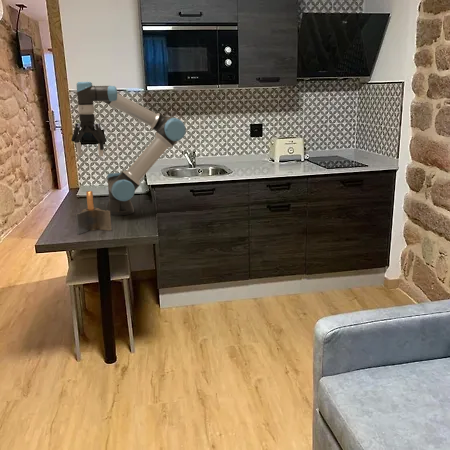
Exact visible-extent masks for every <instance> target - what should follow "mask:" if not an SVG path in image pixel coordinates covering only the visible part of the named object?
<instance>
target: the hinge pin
mask: <svg viewBox="0 0 450 450" xmlns="http://www.w3.org/2000/svg"><path fill="white" fill-rule="evenodd" d="M85 193H86V194H85V195H86V202H87V203H86V204H87V208H88V210H91V211H92V210H94V208H95V204H94V194H93V193H94V192H93V190H87V191H86V192H85Z"/></svg>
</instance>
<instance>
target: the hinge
mask: <svg viewBox="0 0 450 450" xmlns="http://www.w3.org/2000/svg"><path fill="white" fill-rule="evenodd" d="M111 220H112V219H111V215H110V211H107V209H106V210H104V209H101V208H99V207H94V210H92V211H91V210H88V207H87V208H84V209H82V210H81V212H78V213H76V214H75V223H76V234H77V235H81V234H82V235H83V234H84V233H86V232H90V231H92V232H93V231H96V230H99V231H100V230H101V231H108V232H111V231H112V221H111Z"/></svg>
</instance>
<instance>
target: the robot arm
mask: <svg viewBox="0 0 450 450" xmlns="http://www.w3.org/2000/svg"><path fill="white" fill-rule="evenodd" d="M76 97H77V107H78V114H79V115H78V119H79V122H77V123H75V124H74V125H75V126H74V130H73V134H72V137H71V142H74V145H75V149H76V155H77V156H82V155H83V152H82V151H83V150H82V144H81V143H82V142H81V140H82V138H83V136H84V135H85V133H91V134H92V135H93V137H94V138H95V140H96V141H97V142H98V143H97V149H98V150H97V151H98V152H97V153H98V157H99V158H100V157H104V150H105V147H104V143H107V138H106V137H105V135H104V132H103V130H102V128H101V123H95V121H96V120H95V119H96V118H95V117H96V116H95V114H94V113H95V105H94V104H95V103H94V102H102V103H104V104H107V105H108V106H110V107H113V108H115V109H117V110H118V111H121V113H124V114H126V115H128V116H130V117H132V118H134V119H136V120H138V121H140V122H142V123H143V124H145V125H147V126H150V128H151V129H152V130H153V131H155V138H153V140H151V142H150V143H149V144H148V145H147V147H146V148H145V149H144V150H143V151H142V153H140V155H139V156H138V158H136V160H134V162H133V163H132V164H131V165H130V166H129V168H128V169H127V170H123V171H121V172H111V173H107V179H106V180H107V189H108V203H107V207H106V211H110V216H115V217H116V216H118V217H119V216H126V215H127V216H128V215H131V214H134V212H135V210H134V209H135V208H134V205H133V203H132V201H131V199H132V198H133V197H134V195H135V194H136V193H135V192H136V190H138V188H139V187H140V185H141V183H140V182H141V180H142V179H143V177H144V176H146V174H147V173H148V172H149V171H150V170H151V168H152V167H153V166H154V165H155V163H156V162H157V161H158V160H159V159H160V158H161V156H162V155H163V154H164V153H165V152H166V151H167V150H168V148H173V147H174V145H175V144H176V143H177V142H179V141H181V140H182V139H184V137H185V135H186V133H187V132H186V125H185V123H184V122H183V120H181V119H180V118H177V117H171V116H167V115H163V114H161V113H159V112H157V113H155V112H154V111H152V110H150V109H148V108H146V107H145V106H143V105H141V104H138V103H137V102H135V101H133V100H131V99H128V98H127V97H125V96H123V95H122V94H119V92H118V89H117V87H116V86H115V85H93V82H91V81H77V82H76Z"/></svg>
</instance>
